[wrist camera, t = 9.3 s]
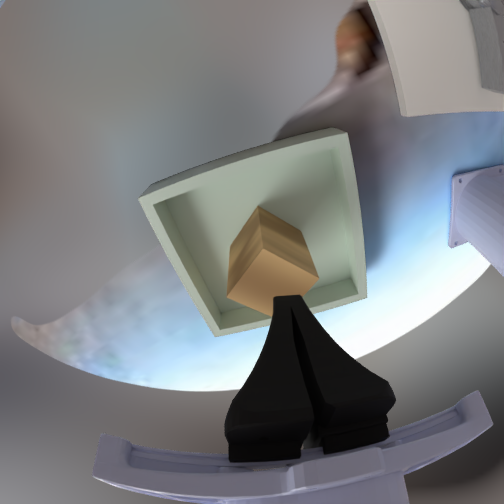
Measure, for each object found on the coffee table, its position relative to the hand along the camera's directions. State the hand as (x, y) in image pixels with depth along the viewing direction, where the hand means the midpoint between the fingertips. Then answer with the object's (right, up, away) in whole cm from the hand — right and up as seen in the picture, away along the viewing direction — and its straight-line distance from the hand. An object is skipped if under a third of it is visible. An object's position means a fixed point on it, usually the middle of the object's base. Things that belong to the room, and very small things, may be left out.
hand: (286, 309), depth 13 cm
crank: (+18, +22, -4) cm, 29 cm away
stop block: (-1, +4, +8) cm, 9 cm away
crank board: (+15, +22, -2) cm, 27 cm away
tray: (-1, +4, +8) cm, 9 cm away
